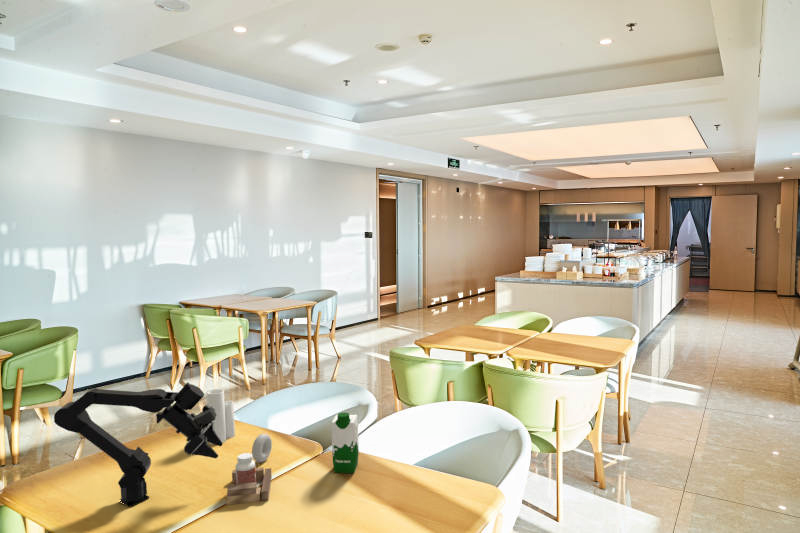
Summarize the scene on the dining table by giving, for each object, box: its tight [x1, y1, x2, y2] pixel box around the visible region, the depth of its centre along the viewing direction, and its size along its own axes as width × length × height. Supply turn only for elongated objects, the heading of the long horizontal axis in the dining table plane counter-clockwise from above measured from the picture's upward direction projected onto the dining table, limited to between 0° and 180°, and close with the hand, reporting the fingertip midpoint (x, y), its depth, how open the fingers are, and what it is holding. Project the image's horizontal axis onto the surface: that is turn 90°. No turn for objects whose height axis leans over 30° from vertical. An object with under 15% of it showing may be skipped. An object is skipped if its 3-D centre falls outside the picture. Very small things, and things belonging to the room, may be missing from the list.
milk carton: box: [331, 412, 360, 474], centre depth 188 cm, size 9×9×20 cm
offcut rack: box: [225, 467, 273, 505], centre depth 175 cm, size 12×16×4 cm
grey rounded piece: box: [251, 433, 273, 463], centre depth 196 cm, size 10×4×10 cm, turn 161°
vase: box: [205, 388, 236, 445], centre depth 217 cm, size 11×7×20 cm, turn 160°
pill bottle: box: [235, 452, 257, 484], centre depth 175 cm, size 6×6×11 cm
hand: (219, 451), depth 173 cm, fingers open, 9 cm apart
